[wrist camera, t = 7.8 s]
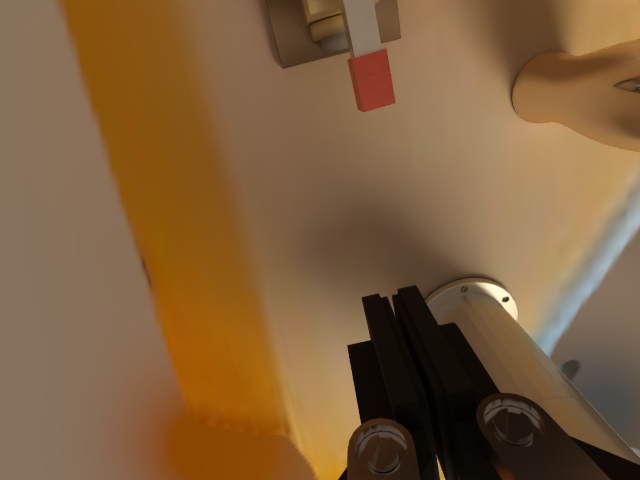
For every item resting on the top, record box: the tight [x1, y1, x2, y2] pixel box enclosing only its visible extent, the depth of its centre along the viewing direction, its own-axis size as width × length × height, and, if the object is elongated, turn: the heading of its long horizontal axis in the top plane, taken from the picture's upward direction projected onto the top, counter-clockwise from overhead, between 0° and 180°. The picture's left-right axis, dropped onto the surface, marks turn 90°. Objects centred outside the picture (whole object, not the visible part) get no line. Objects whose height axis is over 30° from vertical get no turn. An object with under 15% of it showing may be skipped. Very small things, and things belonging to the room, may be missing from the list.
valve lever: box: [339, 0, 395, 112], centre depth 20 cm, size 10×3×3 cm, turn 15°
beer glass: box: [512, 39, 640, 152], centre depth 26 cm, size 7×7×15 cm
